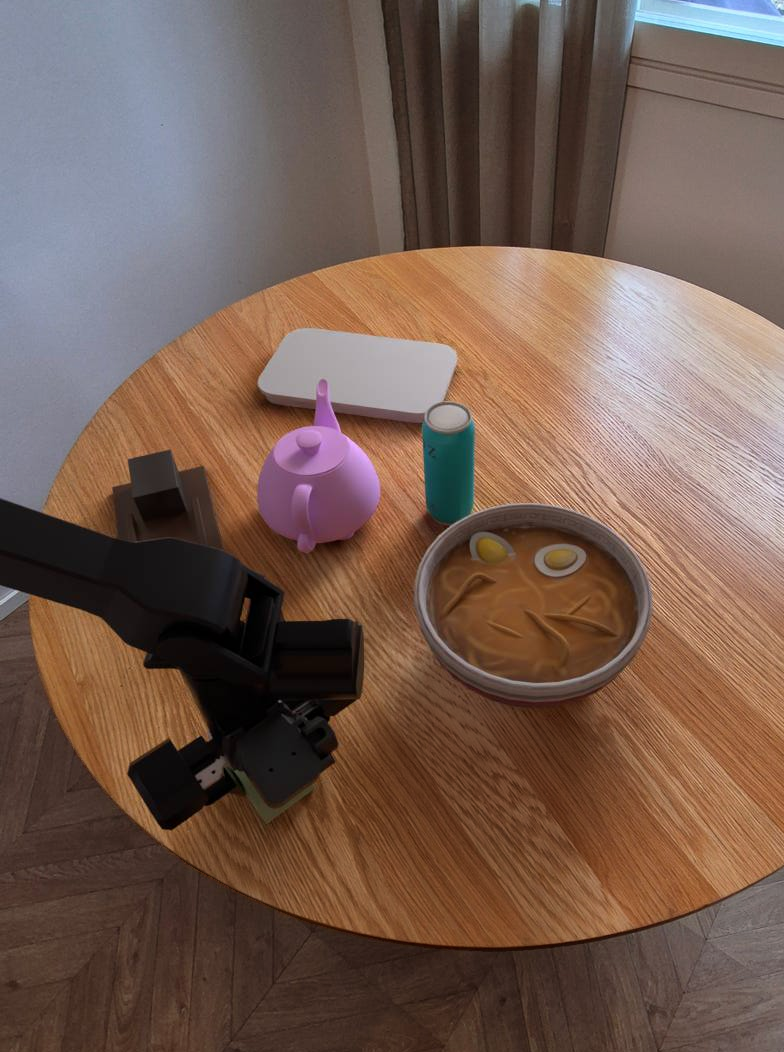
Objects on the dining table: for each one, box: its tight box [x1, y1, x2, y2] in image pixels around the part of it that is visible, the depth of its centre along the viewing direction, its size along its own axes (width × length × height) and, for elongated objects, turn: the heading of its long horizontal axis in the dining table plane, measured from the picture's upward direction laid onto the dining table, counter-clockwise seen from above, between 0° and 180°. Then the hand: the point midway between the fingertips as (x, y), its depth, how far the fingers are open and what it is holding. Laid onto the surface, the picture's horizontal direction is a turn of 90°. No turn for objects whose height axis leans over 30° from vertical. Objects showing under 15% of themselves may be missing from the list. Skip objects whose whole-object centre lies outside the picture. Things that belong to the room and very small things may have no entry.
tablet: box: [257, 327, 459, 424], centre depth 112 cm, size 16×26×2 cm, turn 79°
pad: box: [227, 764, 315, 825], centre depth 71 cm, size 5×7×4 cm
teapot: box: [256, 379, 381, 554], centre depth 91 cm, size 20×14×12 cm
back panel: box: [111, 449, 225, 551], centre depth 91 cm, size 11×17×5 cm, turn 21°
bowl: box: [413, 502, 654, 710], centre depth 79 cm, size 23×23×10 cm
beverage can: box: [421, 400, 476, 527], centre depth 90 cm, size 6×6×15 cm
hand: (267, 773), depth 72 cm, fingers closed on pad, 5 cm apart
